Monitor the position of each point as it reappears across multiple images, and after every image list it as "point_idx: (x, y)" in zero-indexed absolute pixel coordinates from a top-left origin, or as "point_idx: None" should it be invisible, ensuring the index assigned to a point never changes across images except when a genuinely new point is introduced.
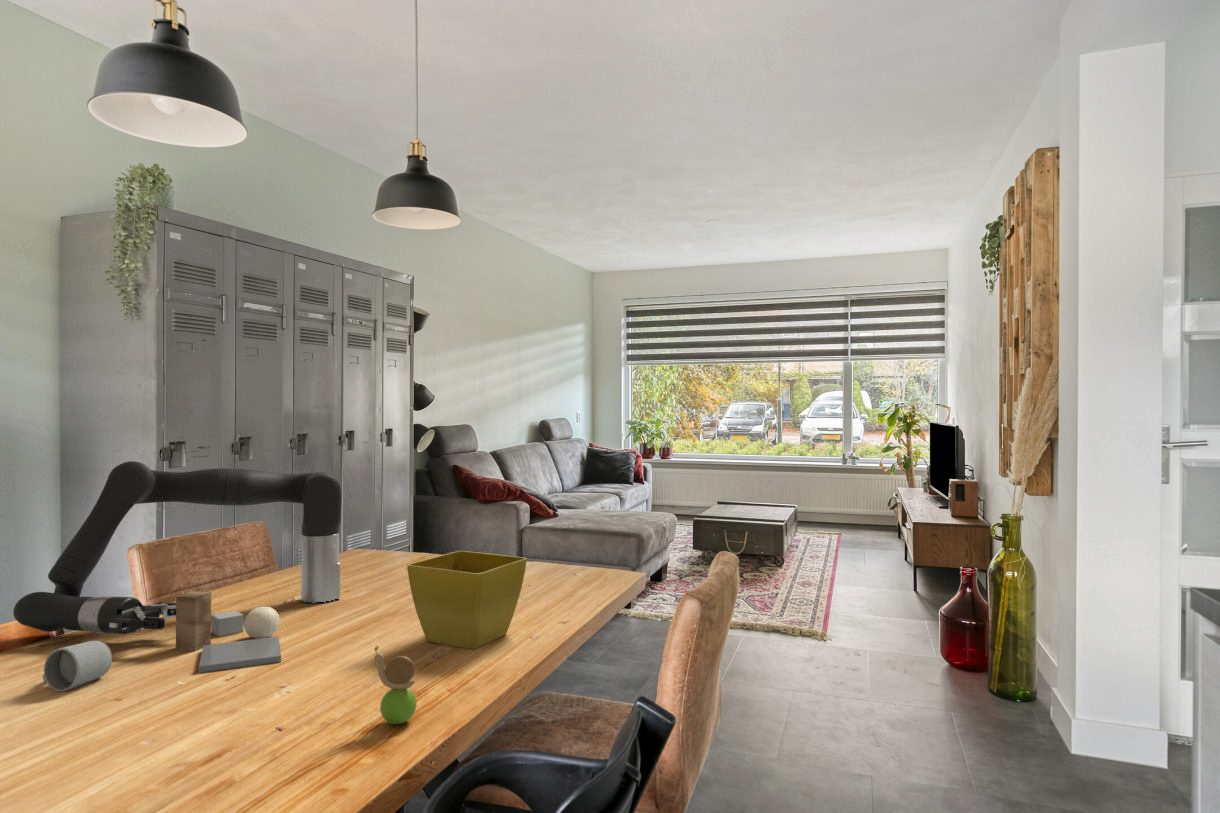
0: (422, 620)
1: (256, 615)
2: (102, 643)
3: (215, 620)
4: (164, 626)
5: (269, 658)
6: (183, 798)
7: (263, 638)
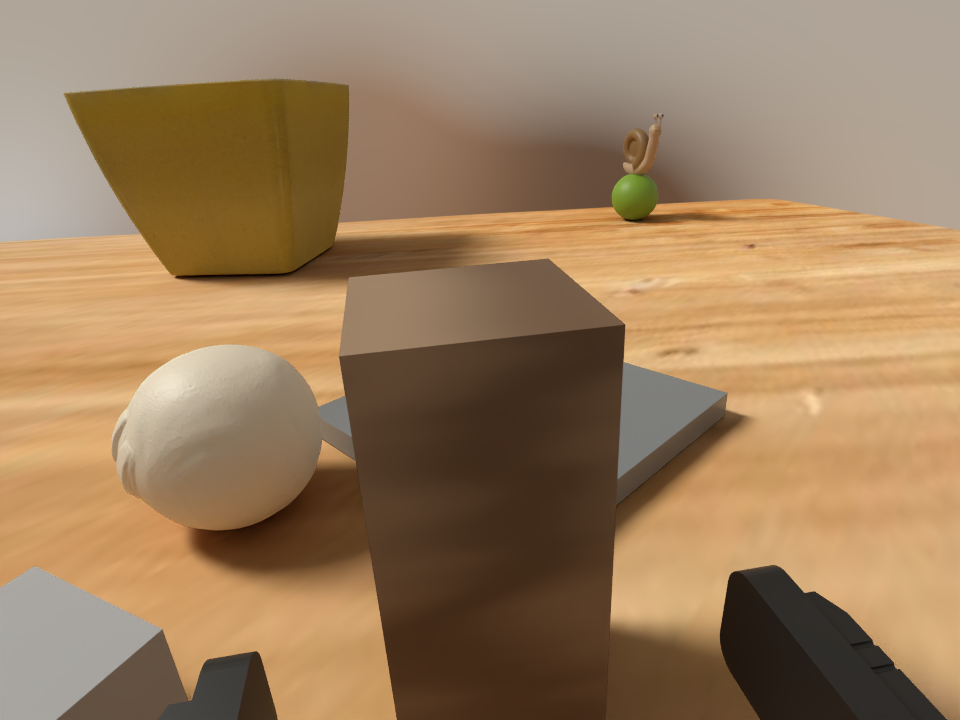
0: (295, 222)
1: (289, 368)
2: None
3: None
4: (721, 633)
5: None
6: (934, 227)
7: (347, 428)
